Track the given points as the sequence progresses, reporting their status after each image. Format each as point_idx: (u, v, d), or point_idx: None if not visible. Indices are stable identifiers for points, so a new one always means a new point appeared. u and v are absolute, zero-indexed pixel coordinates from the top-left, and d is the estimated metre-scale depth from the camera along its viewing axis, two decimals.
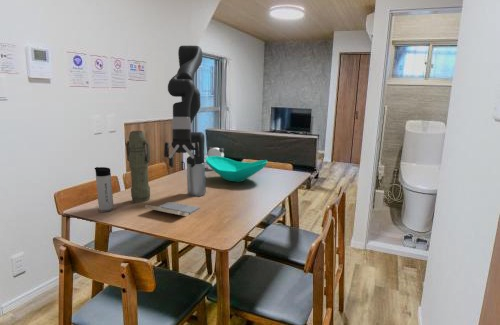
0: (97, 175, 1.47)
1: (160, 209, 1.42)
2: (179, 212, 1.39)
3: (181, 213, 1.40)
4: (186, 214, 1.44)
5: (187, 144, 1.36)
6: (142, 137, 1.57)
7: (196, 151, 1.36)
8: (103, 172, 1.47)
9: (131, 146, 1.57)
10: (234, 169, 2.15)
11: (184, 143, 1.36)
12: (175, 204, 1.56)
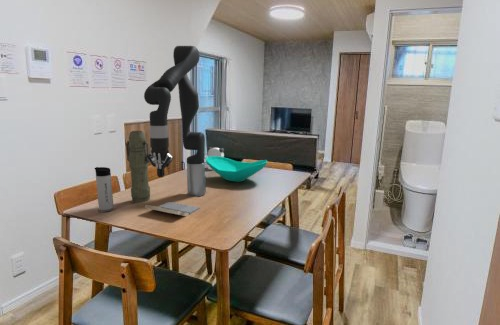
0: (97, 175, 1.47)
1: (160, 209, 1.42)
2: (179, 212, 1.39)
3: (181, 213, 1.40)
4: (186, 214, 1.44)
5: (163, 152, 1.37)
6: (142, 137, 1.57)
7: (165, 163, 1.37)
8: (103, 172, 1.47)
9: (131, 146, 1.57)
10: (234, 169, 2.15)
11: (160, 151, 1.37)
12: (175, 204, 1.56)
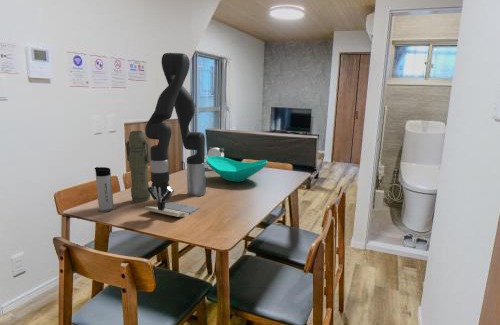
0: (97, 175, 1.47)
1: (160, 211, 1.42)
2: (179, 214, 1.39)
3: (181, 214, 1.40)
4: (186, 214, 1.44)
5: (163, 186, 1.38)
6: (142, 137, 1.57)
7: (165, 197, 1.38)
8: (103, 172, 1.47)
9: (131, 146, 1.57)
10: (234, 169, 2.15)
11: (161, 185, 1.39)
12: (175, 204, 1.56)
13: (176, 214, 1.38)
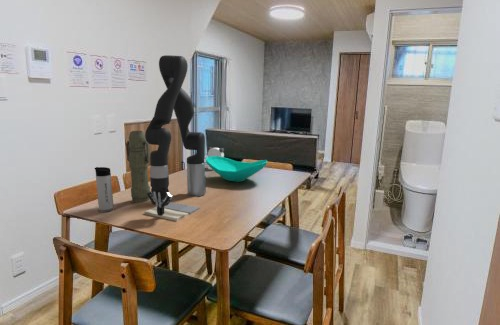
0: (97, 175, 1.47)
1: (159, 216, 1.42)
2: (178, 218, 1.39)
3: (180, 218, 1.40)
4: (186, 215, 1.44)
5: (163, 191, 1.38)
6: (142, 137, 1.57)
7: (164, 202, 1.38)
8: (103, 172, 1.47)
9: (131, 146, 1.57)
10: (234, 169, 2.15)
11: (160, 190, 1.39)
12: (175, 204, 1.56)
13: (176, 219, 1.38)
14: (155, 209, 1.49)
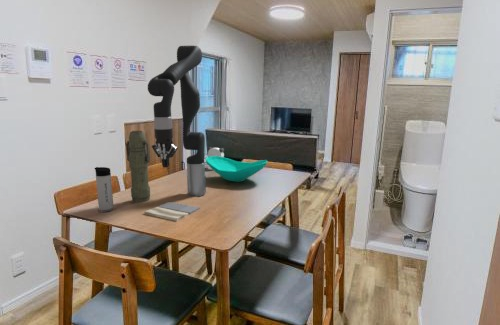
0: (97, 175, 1.47)
1: (159, 216, 1.42)
2: (178, 218, 1.39)
3: (180, 218, 1.40)
4: (186, 215, 1.44)
5: (167, 142, 1.40)
6: (142, 137, 1.57)
7: (169, 153, 1.40)
8: (103, 172, 1.47)
9: (131, 146, 1.57)
10: (234, 169, 2.15)
11: (164, 142, 1.40)
12: (175, 204, 1.56)
13: (176, 219, 1.38)
14: (155, 209, 1.49)
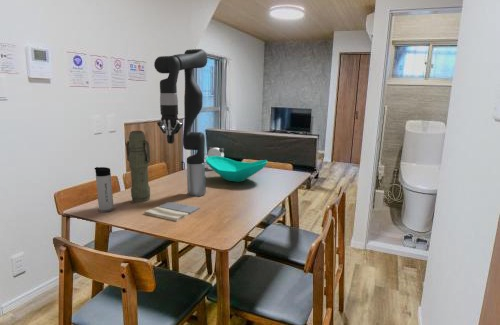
0: (97, 175, 1.47)
1: (159, 216, 1.42)
2: (178, 218, 1.39)
3: (180, 218, 1.40)
4: (186, 215, 1.44)
5: (172, 118, 1.44)
6: (142, 137, 1.57)
7: (174, 129, 1.44)
8: (103, 172, 1.47)
9: (131, 146, 1.57)
10: (234, 169, 2.15)
11: (170, 118, 1.44)
12: (175, 204, 1.56)
13: (176, 219, 1.38)
14: (155, 209, 1.49)
